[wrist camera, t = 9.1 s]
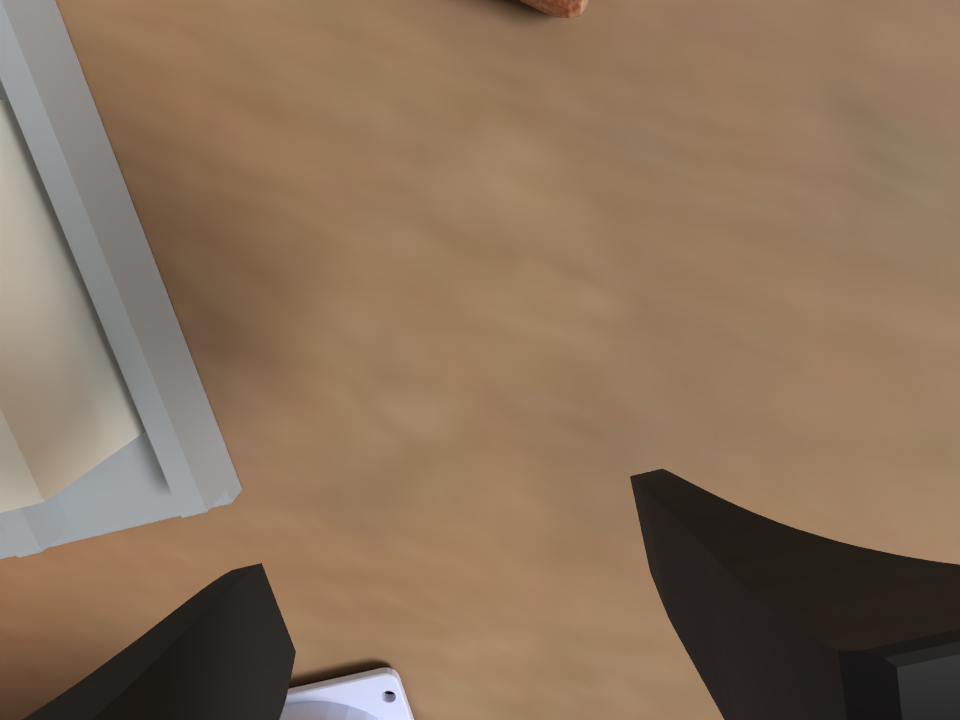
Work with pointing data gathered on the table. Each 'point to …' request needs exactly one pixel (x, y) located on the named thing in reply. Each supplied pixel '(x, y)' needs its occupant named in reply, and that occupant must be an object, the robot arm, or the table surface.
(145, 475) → the grey ridged tray
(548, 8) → the ceramic shard
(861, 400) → the table surface
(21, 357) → the white rectangular block
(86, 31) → the table surface
